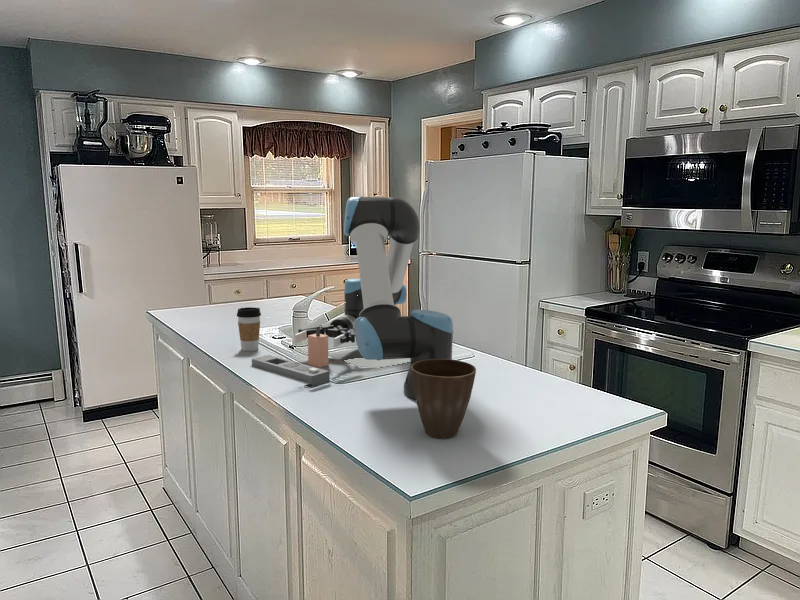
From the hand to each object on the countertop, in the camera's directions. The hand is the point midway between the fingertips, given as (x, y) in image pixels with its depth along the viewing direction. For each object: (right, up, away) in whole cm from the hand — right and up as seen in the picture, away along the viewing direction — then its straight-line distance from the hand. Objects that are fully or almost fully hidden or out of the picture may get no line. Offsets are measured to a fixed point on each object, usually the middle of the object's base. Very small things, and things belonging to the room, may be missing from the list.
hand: (314, 340), depth 192 cm
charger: (+1, -9, +3) cm, 10 cm away
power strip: (-7, -10, -4) cm, 13 cm away
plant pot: (+37, -19, -48) cm, 63 cm away
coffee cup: (-27, -5, +27) cm, 39 cm away
